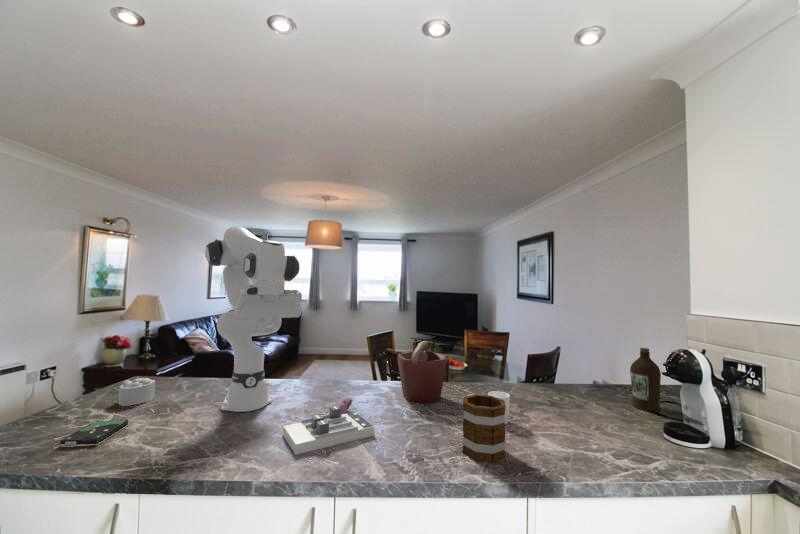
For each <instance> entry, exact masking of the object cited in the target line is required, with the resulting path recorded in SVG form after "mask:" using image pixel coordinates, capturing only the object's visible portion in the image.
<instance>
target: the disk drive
mask: <svg viewBox="0 0 800 534" xmlns="http://www.w3.org/2000/svg"><path fill="white" fill-rule="evenodd" d="M126 425H128V426H129V419H112V420H101V421H99V420H97V421H93V422H92V423H88V424H87V425H86V426H84V427H82V428H81V429H78V430H76V431H75V432H73V433H71V434H70V435H68V436H65V437H64V438H63V439H60V440H59V441H60V443H59V445H60V444H98V443H99V442H101V441H103V440H104V439H106V438H107V437H109V436H111V435H112V434H114V433H115V432H117V431H119V430H120V429H122V428H123V427H125V426H126Z"/></svg>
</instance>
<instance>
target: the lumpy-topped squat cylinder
mask: <svg viewBox="0 0 800 534" xmlns="http://www.w3.org/2000/svg"><path fill="white" fill-rule="evenodd" d="M155 389H156V380H155V379H151V378H148V377H142V378H141V377H140V378H135V379H133V380H130V379H127V380H124V381H123V382H122V384H121V385H120V386H119V389H118V391H119V392H118V404H119V405H121V406H129V405H135V404H139V405H141V404H140V403H143V402H146V401H148V400H150V399H152V398H153V397H154V398H155ZM154 398H153V399H154ZM153 399H152V400H153ZM150 401H151V400H150ZM148 402H149V401H148ZM146 403H147V402H146ZM143 404H144V403H143ZM135 406H136V405H135Z"/></svg>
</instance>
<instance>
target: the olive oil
mask: <svg viewBox="0 0 800 534" xmlns="http://www.w3.org/2000/svg"><path fill="white" fill-rule="evenodd" d="M639 350H640V351H639V357H638V358H637V359H636V360H635V361H633V362H632V363H631V365H630V369H629V370H630V373H629V374H630V385H631V401H632V402H631V403H632V407H634V408H635V409H638V410H642V411H647V412H660V410H661V406H660V405H661V377H662V376H661V374H662V372H661V369H660V367H659V366H658V365H657V363H656V362H654V361H653V360H652V358H651V357H650V356H651V355H650V348H647V347H639Z"/></svg>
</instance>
